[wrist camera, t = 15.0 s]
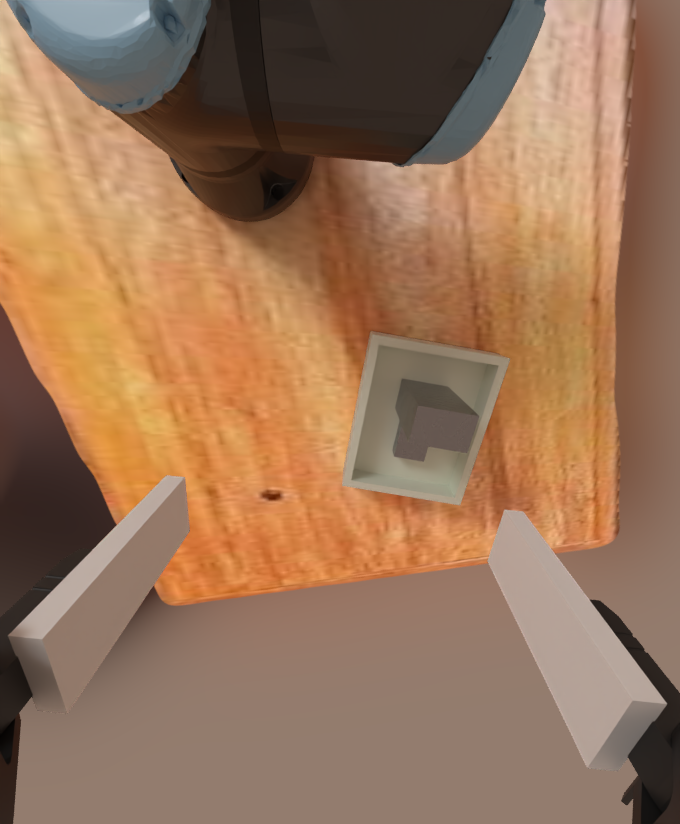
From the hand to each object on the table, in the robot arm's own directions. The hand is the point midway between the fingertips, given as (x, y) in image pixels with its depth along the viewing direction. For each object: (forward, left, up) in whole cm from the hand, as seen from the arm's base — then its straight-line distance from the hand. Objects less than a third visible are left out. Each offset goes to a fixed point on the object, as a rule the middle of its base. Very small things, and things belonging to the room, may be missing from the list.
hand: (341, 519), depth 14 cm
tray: (+5, +10, -31) cm, 33 cm away
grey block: (+5, +10, -30) cm, 32 cm away
